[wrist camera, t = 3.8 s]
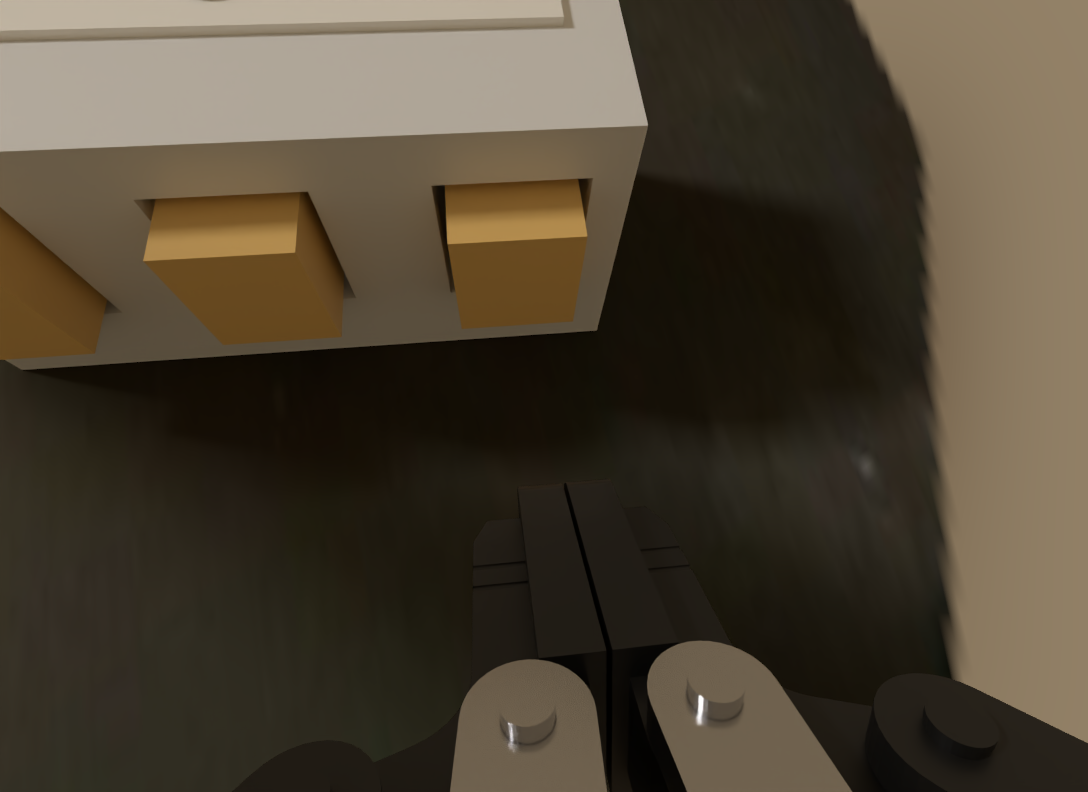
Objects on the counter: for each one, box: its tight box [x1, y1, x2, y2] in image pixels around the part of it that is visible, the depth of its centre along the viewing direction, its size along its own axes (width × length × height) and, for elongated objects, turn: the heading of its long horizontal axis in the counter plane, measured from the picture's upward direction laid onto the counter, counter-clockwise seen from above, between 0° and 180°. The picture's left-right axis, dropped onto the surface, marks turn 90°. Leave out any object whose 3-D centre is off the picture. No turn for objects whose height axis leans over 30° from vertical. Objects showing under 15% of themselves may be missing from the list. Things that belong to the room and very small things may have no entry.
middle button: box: [143, 192, 344, 345], centre depth 21 cm, size 4×3×5 cm
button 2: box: [445, 179, 588, 329], centre depth 21 cm, size 4×3×5 cm
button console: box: [0, 0, 648, 370], centre depth 24 cm, size 26×11×12 cm, turn 96°
